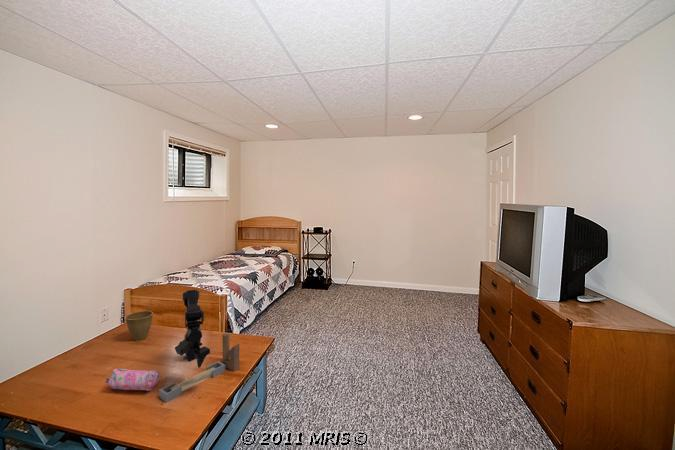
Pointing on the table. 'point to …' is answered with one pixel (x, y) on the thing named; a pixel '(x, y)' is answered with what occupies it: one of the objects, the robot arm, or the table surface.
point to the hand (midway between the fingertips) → (194, 364)
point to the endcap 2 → (216, 368)
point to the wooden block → (230, 354)
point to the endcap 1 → (169, 392)
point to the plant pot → (139, 324)
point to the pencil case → (133, 379)
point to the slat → (194, 380)
